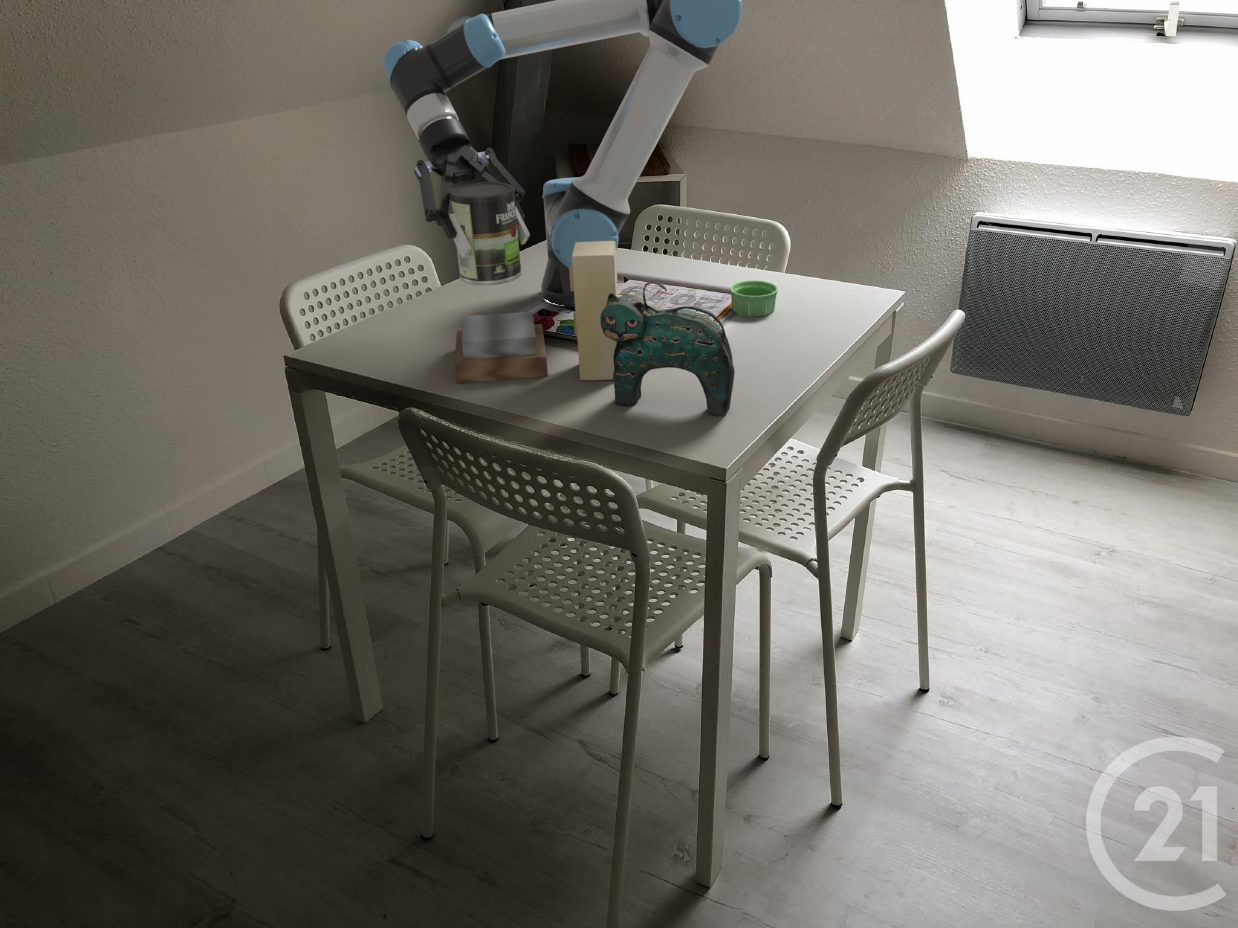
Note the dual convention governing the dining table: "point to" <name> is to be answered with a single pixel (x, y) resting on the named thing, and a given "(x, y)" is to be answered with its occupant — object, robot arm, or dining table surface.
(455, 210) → the coffee can
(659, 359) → the ceramic cat
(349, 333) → the dining table surface
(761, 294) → the ramekin
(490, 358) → the tower base
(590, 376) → the cream tall block
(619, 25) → the robot arm
